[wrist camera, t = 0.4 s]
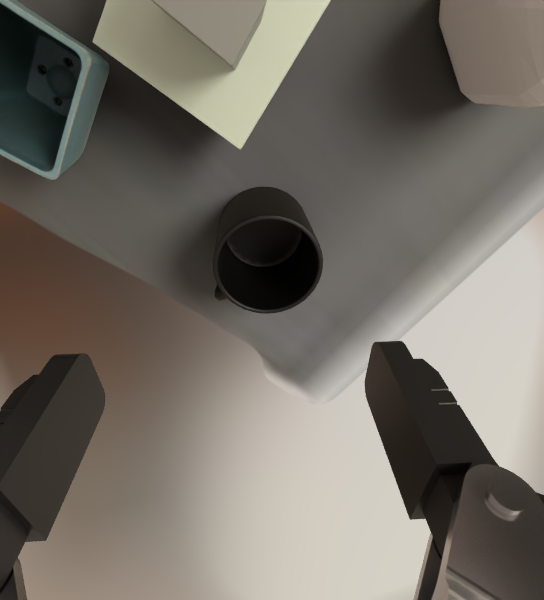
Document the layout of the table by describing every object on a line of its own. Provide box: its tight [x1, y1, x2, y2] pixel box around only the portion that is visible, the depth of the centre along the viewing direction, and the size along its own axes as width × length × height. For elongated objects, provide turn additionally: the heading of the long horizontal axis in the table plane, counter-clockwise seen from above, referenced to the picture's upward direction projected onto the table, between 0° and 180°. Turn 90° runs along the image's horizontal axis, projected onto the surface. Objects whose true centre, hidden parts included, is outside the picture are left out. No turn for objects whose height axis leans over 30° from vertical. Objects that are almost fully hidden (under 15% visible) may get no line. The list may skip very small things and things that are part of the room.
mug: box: [213, 187, 323, 313], centre depth 33 cm, size 9×12×9 cm
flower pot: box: [0, 0, 109, 180], centre depth 24 cm, size 9×9×9 cm
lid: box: [93, 0, 330, 149], centre depth 18 cm, size 11×11×8 cm
